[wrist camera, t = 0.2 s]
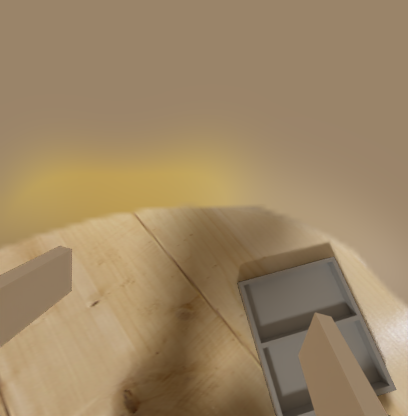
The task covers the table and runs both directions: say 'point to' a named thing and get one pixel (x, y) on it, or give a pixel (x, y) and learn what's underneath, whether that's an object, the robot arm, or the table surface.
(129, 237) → the table surface
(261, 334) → the divided gray tray
